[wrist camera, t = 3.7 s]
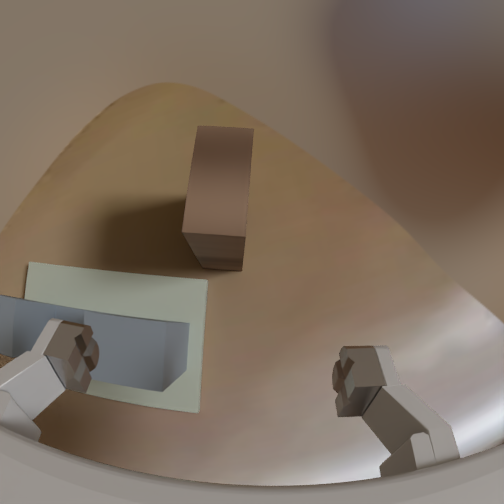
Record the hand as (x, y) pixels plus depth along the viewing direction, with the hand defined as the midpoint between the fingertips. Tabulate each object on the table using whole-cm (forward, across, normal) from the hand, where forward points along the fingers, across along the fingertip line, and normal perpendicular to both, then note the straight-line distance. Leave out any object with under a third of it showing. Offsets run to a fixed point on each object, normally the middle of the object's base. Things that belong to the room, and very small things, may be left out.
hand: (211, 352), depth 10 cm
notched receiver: (+9, -10, -11) cm, 17 cm away
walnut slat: (+16, -1, -5) cm, 16 cm away
